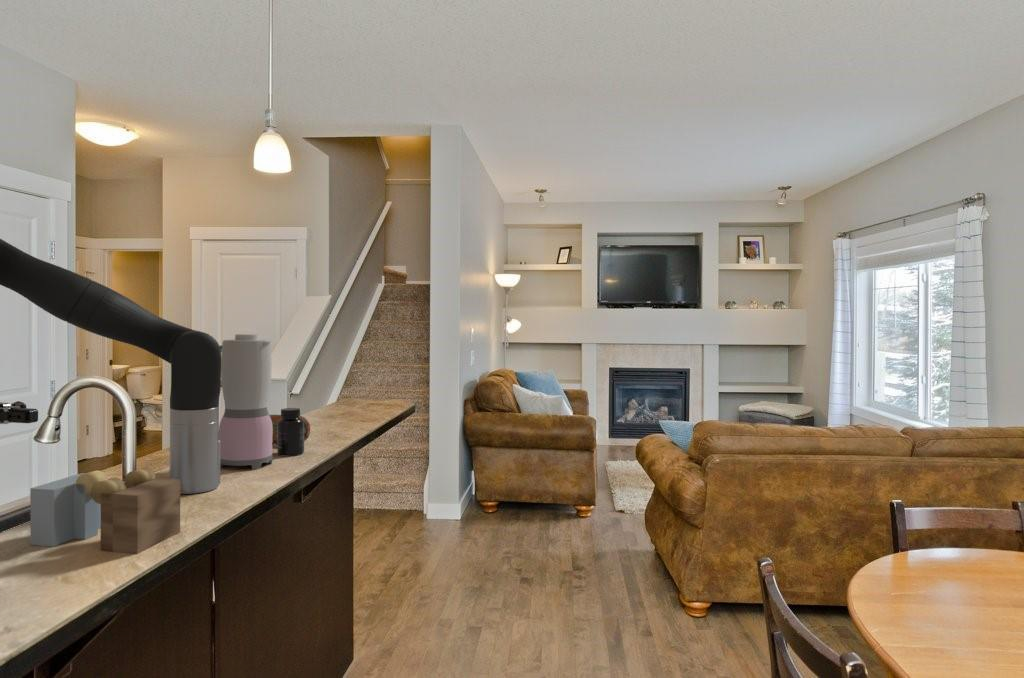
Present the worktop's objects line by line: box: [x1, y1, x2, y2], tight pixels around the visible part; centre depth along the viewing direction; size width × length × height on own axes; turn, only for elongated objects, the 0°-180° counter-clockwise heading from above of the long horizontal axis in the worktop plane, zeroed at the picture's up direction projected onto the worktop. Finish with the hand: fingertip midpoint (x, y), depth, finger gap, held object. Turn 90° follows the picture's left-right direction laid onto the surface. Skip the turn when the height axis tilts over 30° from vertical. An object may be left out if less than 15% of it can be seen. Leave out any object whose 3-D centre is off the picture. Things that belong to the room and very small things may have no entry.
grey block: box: [29, 470, 108, 548], centre depth 104 cm, size 10×8×11 cm
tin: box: [269, 414, 311, 443], centre depth 182 cm, size 15×3×8 cm, turn 81°
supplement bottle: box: [276, 407, 305, 456], centre depth 169 cm, size 7×7×12 cm
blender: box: [219, 333, 274, 470], centre depth 155 cm, size 16×12×32 cm
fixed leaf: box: [91, 466, 181, 554], centre depth 103 cm, size 10×8×11 cm
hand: (34, 416), depth 104 cm, fingers closed
